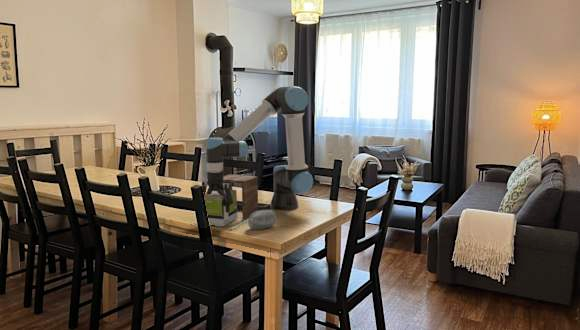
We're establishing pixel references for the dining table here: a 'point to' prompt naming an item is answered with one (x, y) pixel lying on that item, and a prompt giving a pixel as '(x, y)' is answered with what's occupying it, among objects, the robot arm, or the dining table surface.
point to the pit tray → (260, 206)
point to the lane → (235, 225)
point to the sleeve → (245, 192)
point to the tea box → (220, 208)
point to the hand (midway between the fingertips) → (216, 217)
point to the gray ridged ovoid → (262, 219)
